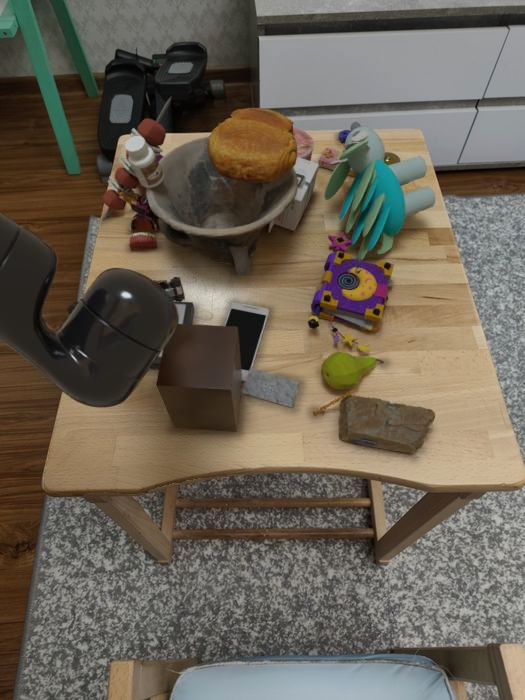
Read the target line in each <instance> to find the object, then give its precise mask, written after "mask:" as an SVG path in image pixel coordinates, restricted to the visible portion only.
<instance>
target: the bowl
mask: <svg viewBox="0 0 525 700" xmlns="http://www.w3.org/2000/svg"><path fill="white" fill-rule="evenodd" d="M209 139H210V137H209V136H204V137H200V138H199V137H198V138H195V139H192V140H190V141H187V142H185V143H183V144H181V145H179V146H177V147H175V148H173V149H172V150H171V151H169V152H168V153H166V154H165V155H163V156H164V157H163V158H162V159H161V160H160V161H159V164H160V166H161V169H162V171H163V173H164V178H163V181H162V182H161V183H160V184H159V185H158V186H155V187H152V188H146V189H145V190H146V191H145V196H146V197H147V200H148V203H149V206H150V208H151V210H152V211H153V213H154V214H155V215H156V216H157V217H158V218H159V222H158V226H159V228H160V230H161V233H162V234H163V236H165V237H166V239H168V241H170V242H171V243H173V244H176V245H177V246H180V247H182V248H192V249H195V250H196V251H197V252H198V253H199V254H200V255H201V256H202V257H203V258H205V259H207V260H209V261H212V262H215V263H219V264H228V265H230V266H231V267H232V268H233V270H235V273H236V275H237V276H238V277H241V278H242V277H247V276H249V275H251V273H252V264H251V256H252V254H254V252H255V251H256V249H257V245H258V242H259V234H260V233H261V231H262V229H264V227H266V226H267V225H269V224H270V222H271V221H272V220H274V219H275V218H276V217H278V216H279V215H280V214H281V213H282V212H283V211H284V210H285V209H286V208H287V207H288V206H289V205H290V204H291V203H292V201H293V200H294V198H295V196H296V193H297V190H298V178H297V175H296V172H295V170H294V167H292V168H291V169H289V170H288V172H286V173H285V174H283V175H281V176H280V177H279V178H277V179H276V180H274V182H265V183H249V182H243V181H239V180H234V179H229V178H226V177H225V176H223V175H221V174H219V173H218V172H217V169H216V167H215V166H214V165H213V163H212V162H211V160H210V158H209V152H208V148H207V143H208V141H209Z"/></svg>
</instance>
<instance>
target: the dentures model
mask: <svg viewBox="0 0 525 700" xmlns="http://www.w3.org/2000/svg"><path fill="white" fill-rule="evenodd" d="M159 228H160V225H159V222H157V221H156V219H153V218H149V217H146V216H143V215H140V214H138V213H136V214H135V215H133V217H132V219H131V221H130V227H129V229H130V231H131V232H132V234H130V236H129V245H128V247H129V249H130V250H140V249H141V250H142V249H155V248H158V242H157V239H156V236H155V235H154V234H153V233H151V232H145V230H146V231H147V230H149V231H152V232H155V231H159ZM139 231H142V232H139ZM143 231H144V232H143Z"/></svg>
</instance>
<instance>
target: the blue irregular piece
mask: <svg viewBox="0 0 525 700" xmlns="http://www.w3.org/2000/svg"><path fill="white" fill-rule="evenodd" d="M350 132H351V129H343V130H341V131H340V132H339V133H338V137H337V138H338V139H339V140H340V143H341V144H343V143H345V141H346V138H347V136H348V135H349V133H350Z"/></svg>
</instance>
